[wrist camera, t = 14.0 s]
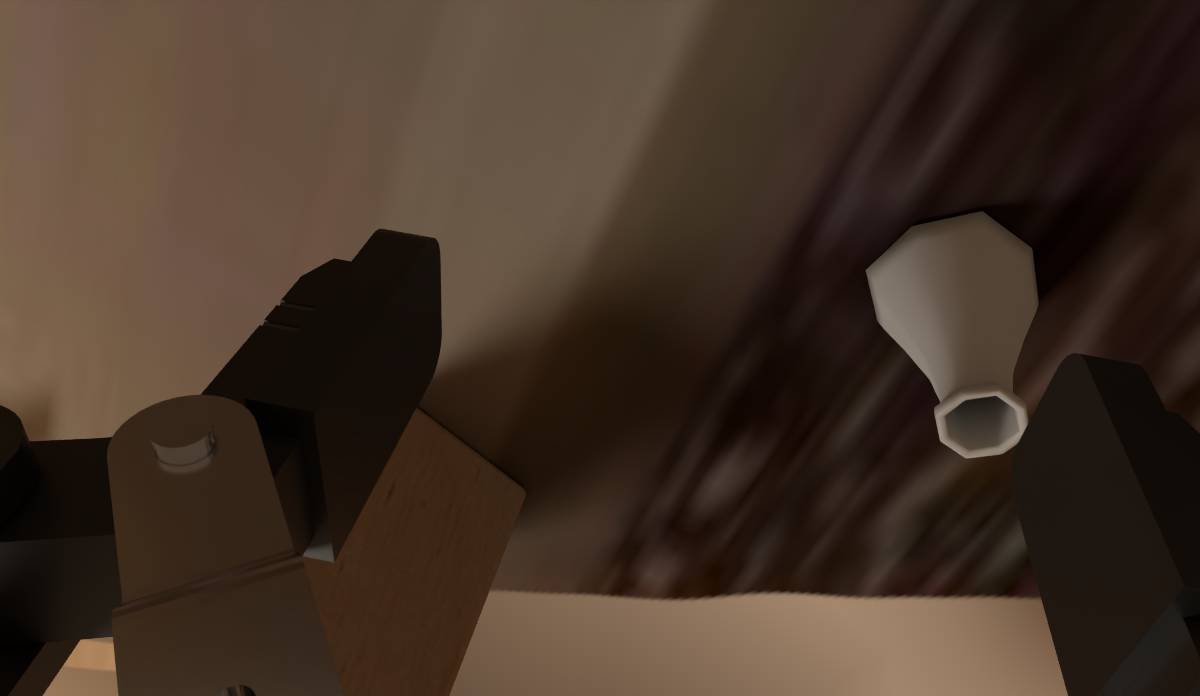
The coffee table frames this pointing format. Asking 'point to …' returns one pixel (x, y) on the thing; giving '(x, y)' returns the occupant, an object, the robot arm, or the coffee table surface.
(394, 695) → the wooden block
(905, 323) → the flask
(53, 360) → the coffee table surface
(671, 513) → the coffee table surface
